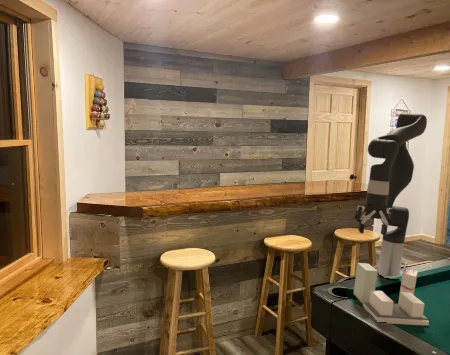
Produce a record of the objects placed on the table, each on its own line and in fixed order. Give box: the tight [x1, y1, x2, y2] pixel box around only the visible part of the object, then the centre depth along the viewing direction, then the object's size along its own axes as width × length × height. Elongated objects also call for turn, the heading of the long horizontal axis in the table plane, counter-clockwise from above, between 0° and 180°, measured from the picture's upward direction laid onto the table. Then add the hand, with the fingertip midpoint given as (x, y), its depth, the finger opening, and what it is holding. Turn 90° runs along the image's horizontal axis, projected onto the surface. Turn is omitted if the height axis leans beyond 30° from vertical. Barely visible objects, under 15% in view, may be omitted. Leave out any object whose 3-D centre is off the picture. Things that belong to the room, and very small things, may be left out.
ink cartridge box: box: [398, 261, 418, 297], centre depth 147 cm, size 9×5×15 cm, turn 149°
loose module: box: [353, 262, 378, 304], centre depth 145 cm, size 8×4×13 cm, turn 2°
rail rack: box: [362, 289, 430, 326], centre depth 133 cm, size 12×18×7 cm, turn 92°
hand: (372, 233), depth 142 cm, fingers open, 8 cm apart
